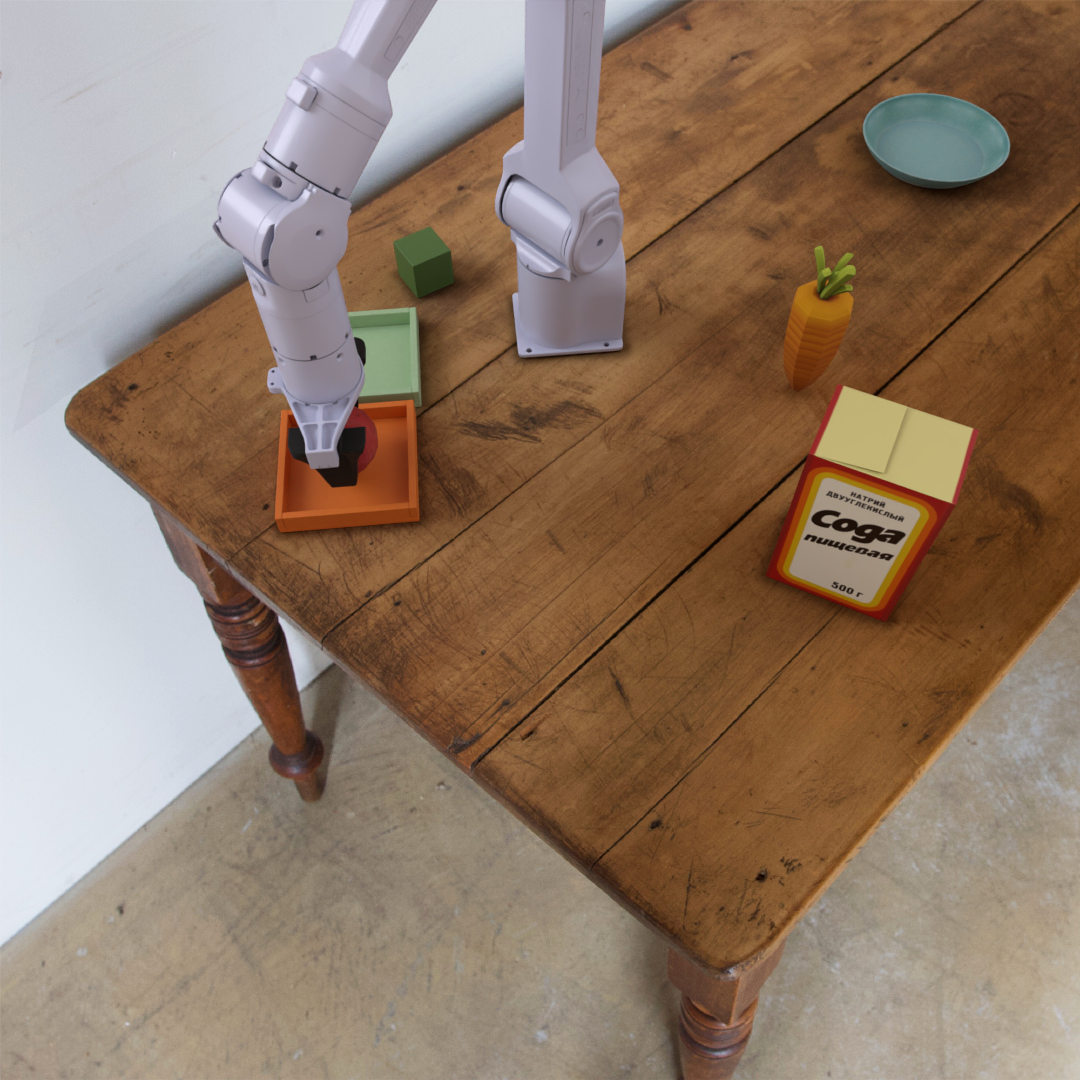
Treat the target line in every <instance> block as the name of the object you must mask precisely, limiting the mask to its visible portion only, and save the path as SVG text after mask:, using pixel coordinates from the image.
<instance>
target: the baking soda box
mask: <svg viewBox="0 0 1080 1080" xmlns="http://www.w3.org/2000/svg"><path fill="white" fill-rule="evenodd" d="M979 432H980V429H976V428H973V427H971V426H967V425H964V424H961V423H959V422H955V421H952V420H949V419H946V418H943V417H940V416H937V415H934V414H930V413H928V412H926V411H921V410H919V409H915V408H913V407H909V406H907V405H904V404H901V403H898V402H895V401H892V400H889V399H886V398H883V397H879V396H876V395H873V394H871V393H867V392H864V391H861V390H858V389H855V388H852V387H849V386H846V385H842V384H840V383H837V384H836V387H835V389H834V392H833V395H832V397H831V399H830V402H829V403H828V406H827V408H826V411H825V413H824V415H823V418H822V420H821V423H820V425H819V428H818V430H817V431H816V435H815V436H814V440H813V442H812V445H811V447H810V449H809V452H808V454H807V457H806V460H805V462H804V466H803V468H802V472H801V474H800V477H799V479H798V482H797V485H796V488H795V490H794V493H793V496H792V499H791V502H790V505H789V507H788V511H787V513H786V517H785V518H784V521H783V524H782V527H781V530H780V532H779V536H778V538H777V542H776V544H775V547H774V550H773V552H772V555H771V558H770V561H769V564H768V567H767V570H766V572H765V576H764V577H767V578H770V579H772V580H775V581H777V582H779V583H782V584H785V585H788V586H790V587H793V588H796V589H798V590H800V591H803V592H806V593H808V594H811V595H813V596H816V597H819V598H821V599H825V600H827V601H829V602H832V603H834V604H836V605H840V606H842V607H845V608H848V609H850V610H853V611H856V612H858V613H861V614H863V615H865V616H866V615H867V616H868V617H871V618H873V619H876V620H879V621H882V622H884V623H886V622H887V620H888V618H889V617H890V615H891V613H892V612H893V610H894V609H895V607H896V605H897V603H898V602H899V601H900V599H901V597H902V596H903V594H904V592H905V590H906V589H907V587H908V585H909V584H910V582H911V580H912V579H913V578H914V576H915V573H916V572H917V570H918V569H919V567H920V565H921V564H922V562H923V560H924V559H925V557H926V556H927V554H928V553H929V551H930V549H931V547H932V546H933V544H934V542H935V540H936V539H937V537H938V536H939V534H940V532H941V531H942V529H943V527H944V526H945V524H946V523H947V521H948V520H949V518H950V516H951V514H952V513H953V511H954V509H955V507H956V506H957V504H958V500H959V497H960V494H961V491H962V487H963V484H964V481H965V478H966V475H967V471H968V468H969V464H970V461H971V457H972V455H973V452H974V448H975V445H976V442H977V438H978V435H979Z"/></svg>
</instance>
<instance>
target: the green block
mask: <svg viewBox="0 0 1080 1080" xmlns="http://www.w3.org/2000/svg"><path fill="white" fill-rule="evenodd" d="M392 245H393V251H394V255H395V262H396V267H397V274H398V276H399V277H400V278H401V279H402V281H404V283H405V284H406V286H407V287H408V288H409V290H410V291H411V292H412V293H413V295H414V296H415V297H416V298H417V299H420V298H423V297H426V296H428V295H430V294H432V293H434V292H436V291H439V290H441V289H443V288H445V287H448V286H450V285H452V284H454V283H455V277H454V267H453V258H452V251H451V249H450V248H449V246H448V245H447V244H446V243H445V242H444V241H443V239H442V238H441V237H440V235H438V233H437V232H436V231H435V230H434V228H433V227H432V226H428V227H425V228H422V229H420V230H417V231H414V232H413V233H410V234H408V235H405V236H403V237H401V238H398V239H396V240H393V241H392Z"/></svg>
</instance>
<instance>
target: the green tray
mask: <svg viewBox="0 0 1080 1080" xmlns="http://www.w3.org/2000/svg"><path fill="white" fill-rule="evenodd" d="M417 310H418V309H417V307H416V306H412V307H398V308H386V309H373V310H358V311H347V312H348V316H349V320H350V324H351V328H352V332H353V336H354V337H358V338H360V339H362V340H363V341H364V342H365V346H366V363H365V365H364V371H365V383H364V386H363V388H362V391H361V393H360V395H359V397H358V404H365V403H378V402H390V401H403V400H406V401H407V400H413V401H414V406H415V408H421V407H422V383H421V382H422V380H421V356H420V355H421V352H420V350H421V349H420V329H419V328H420V327H419V326H420V325H419V324H420V323H419V316H418V311H417Z"/></svg>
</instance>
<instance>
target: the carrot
mask: <svg viewBox="0 0 1080 1080" xmlns="http://www.w3.org/2000/svg"><path fill="white" fill-rule="evenodd" d="M813 249H814V250H813V251H814V258H815V262H816V270H817V271H816V272H817V278H816V279H814V280H811V281H809V282H807V283H805V284H802V285H800V286H798V287H797V289H796V291H795V294H794V297H793V301H792V305H791V309H790V313H789V316H788V320H787V325H786V331H785V336H784V341H783V353H782V354H783V356H782V357H783V360H782V361H783V370H784V374H785V377H786V379H787V380H786V381H787V382H788V384H789V387H790V388H791V389H792V390H793V391H794V392H802V391H803V390H805V389H807V388H808V387H810V386H811V385H813V384H814V383H816V381H817V380H818V379H819V378H821V377H822V376H823V375H824V373H825V372H826V371H827V369H828V368H829V366H830V364H831V363H832V361H833V360H834V358H835V357H836V355H837V353H838V351H839V349H840V346H841V344H842V342H843V339H844V337H845V335H846V331H847V329H848V327H849V323H850V322H851V317H852V312H853V307H854V301H855V300H854V299H855V298H854V297H853V296H852V295H851V293H850V292H852V291H853V290H854V287H853V286H852V284H850V283H847V282H849V281H850V280H852V278H854V277H855V276H856V274H857V269H856V266H855V265H852V264H848V263H849V262H850V261H851V260H852V258H853V257H854V256H855V254H853V253H851V252H846V253H844V255H842V257H841V258H840V259H839V261H838V262H837V263H836V265H835V266H834V267H833V269H832V270H831V268H830V267H829V266H828V267H826V257H825V250H824V247H823V245H817V246H816V247H815V248H813ZM846 283H847V284H846Z"/></svg>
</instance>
